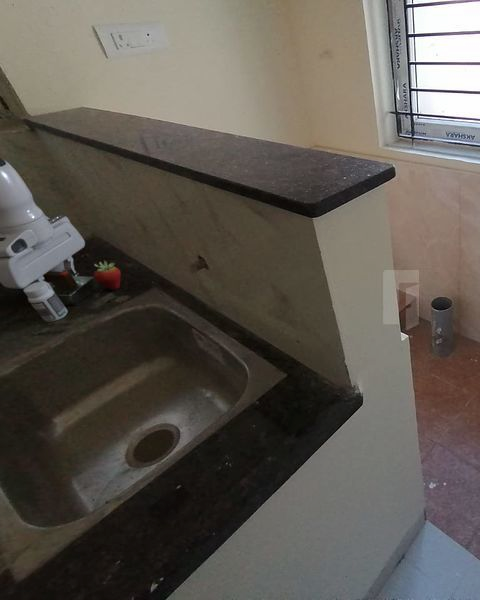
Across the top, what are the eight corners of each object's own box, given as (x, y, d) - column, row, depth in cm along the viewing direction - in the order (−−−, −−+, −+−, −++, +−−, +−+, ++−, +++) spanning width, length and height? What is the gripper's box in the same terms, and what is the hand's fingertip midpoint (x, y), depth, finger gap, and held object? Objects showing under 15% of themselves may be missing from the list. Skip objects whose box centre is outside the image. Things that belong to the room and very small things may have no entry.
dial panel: (34, 306, 93) (26, 296, 91) (66, 282, 101) (60, 272, 99) (73, 308, 92) (66, 297, 91) (103, 283, 101) (97, 273, 99)
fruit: (131, 287, 99) (117, 260, 94) (109, 297, 96) (93, 270, 91) (122, 281, 101) (107, 254, 97) (100, 290, 98) (84, 264, 93)
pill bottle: (66, 307, 93) (45, 278, 88) (70, 316, 90) (49, 286, 85) (42, 316, 90) (19, 286, 85) (45, 325, 88) (22, 295, 82)
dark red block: (49, 286, 95) (40, 273, 92) (54, 282, 96) (46, 270, 94) (72, 287, 94) (63, 274, 92) (77, 283, 95) (69, 270, 93)
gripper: (51, 211, 95) (80, 259, 103) (-30, 253, 78) (13, 307, 87) (74, 211, 94) (102, 260, 103) (-1, 254, 78) (39, 307, 86)
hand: (61, 282), depth 95 cm, fingers open, 5 cm apart
